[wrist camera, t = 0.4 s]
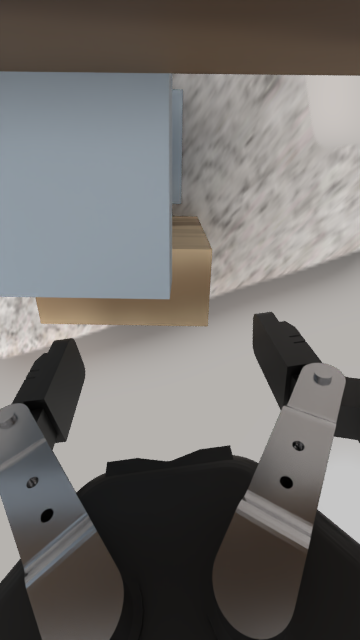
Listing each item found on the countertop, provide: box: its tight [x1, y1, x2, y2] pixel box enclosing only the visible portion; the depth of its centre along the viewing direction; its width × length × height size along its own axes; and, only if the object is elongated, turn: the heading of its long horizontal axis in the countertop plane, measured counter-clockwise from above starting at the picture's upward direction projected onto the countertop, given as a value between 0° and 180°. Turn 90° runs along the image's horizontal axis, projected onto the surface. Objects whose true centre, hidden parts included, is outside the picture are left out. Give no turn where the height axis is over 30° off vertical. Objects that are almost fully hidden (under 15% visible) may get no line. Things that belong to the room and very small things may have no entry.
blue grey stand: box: [0, 71, 183, 299], centre depth 19 cm, size 12×12×32 cm
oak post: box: [36, 216, 212, 326], centre depth 27 cm, size 5×11×21 cm, turn 89°
